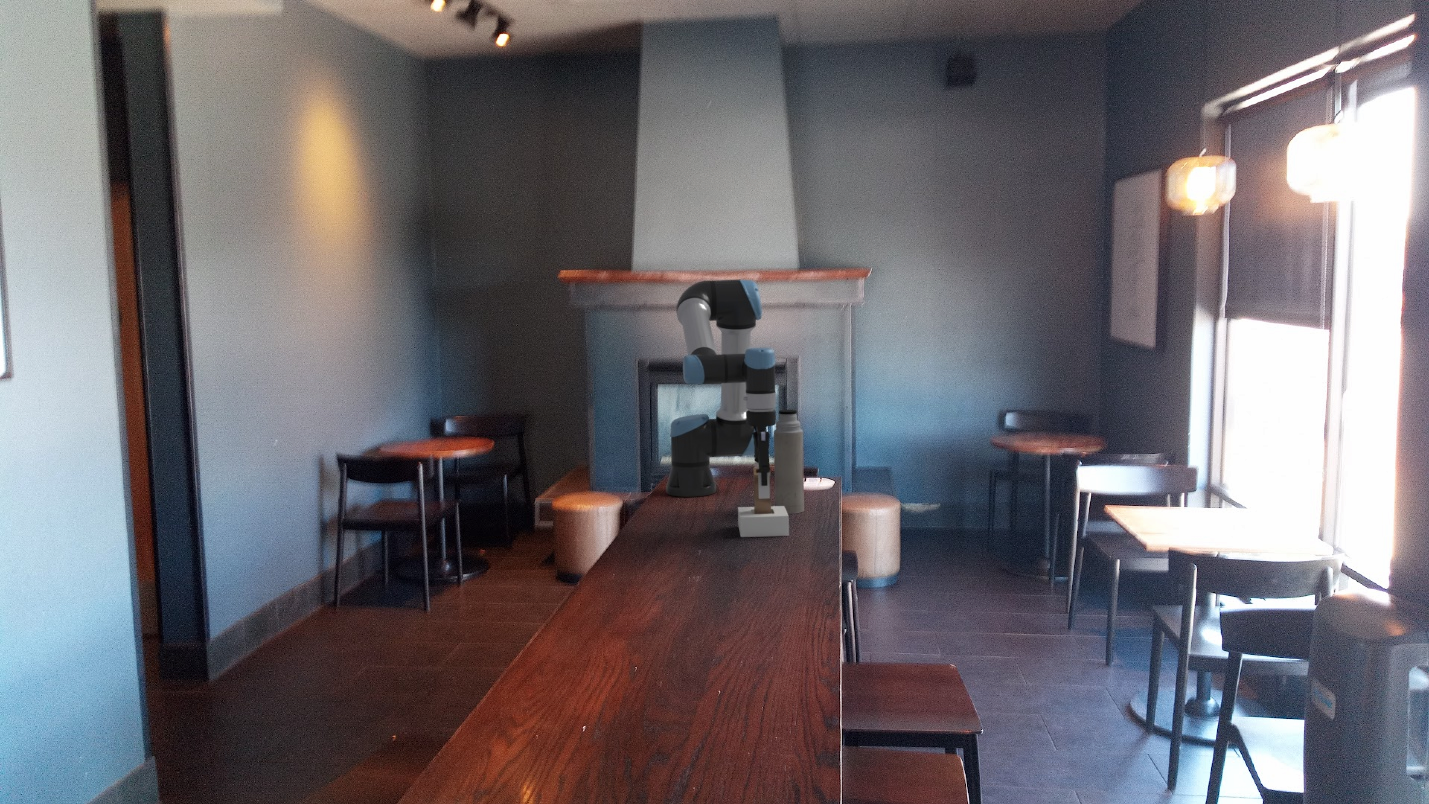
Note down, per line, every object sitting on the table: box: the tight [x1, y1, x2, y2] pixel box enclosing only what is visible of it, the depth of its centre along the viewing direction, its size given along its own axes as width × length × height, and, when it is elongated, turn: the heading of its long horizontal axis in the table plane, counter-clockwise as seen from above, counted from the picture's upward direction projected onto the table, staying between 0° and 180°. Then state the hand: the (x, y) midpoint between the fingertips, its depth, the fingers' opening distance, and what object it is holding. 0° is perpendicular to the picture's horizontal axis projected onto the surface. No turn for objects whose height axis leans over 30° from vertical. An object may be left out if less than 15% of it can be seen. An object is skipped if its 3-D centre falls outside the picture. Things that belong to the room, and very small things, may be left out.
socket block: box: [737, 505, 790, 538], centre depth 269 cm, size 12×12×5 cm
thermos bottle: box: [773, 409, 805, 515], centre depth 291 cm, size 8×8×28 cm
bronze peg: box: [752, 467, 772, 514], centre depth 268 cm, size 4×4×16 cm
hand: (762, 492), depth 268 cm, fingers open, 13 cm apart
